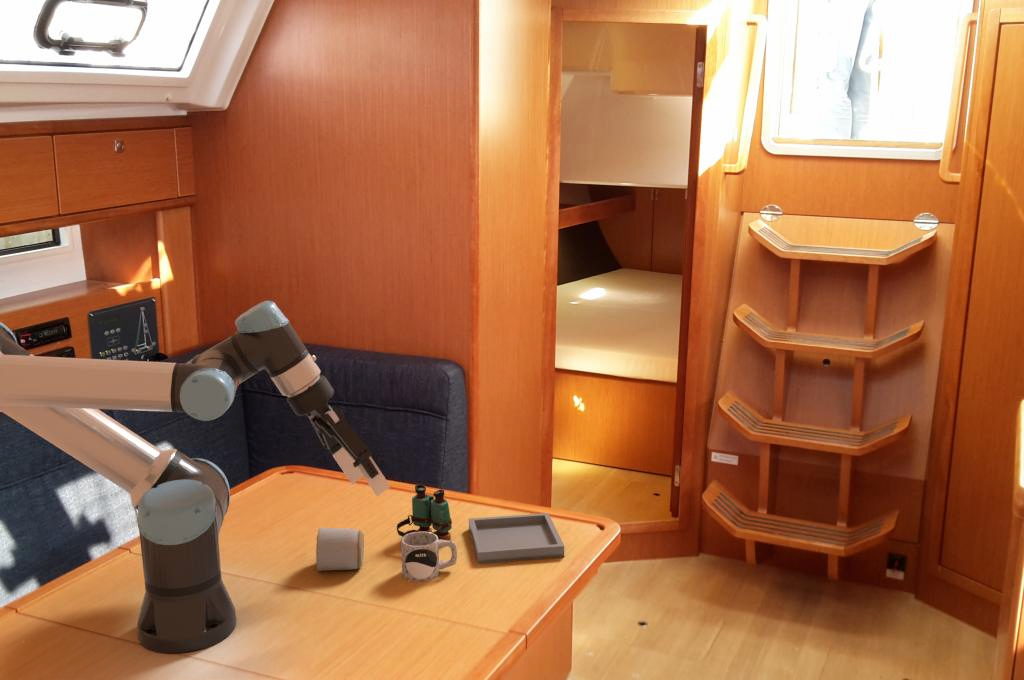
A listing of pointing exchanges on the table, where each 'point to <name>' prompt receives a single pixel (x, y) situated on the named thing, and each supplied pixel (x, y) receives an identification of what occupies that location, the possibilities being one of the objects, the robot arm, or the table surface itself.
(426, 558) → the mug
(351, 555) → the ceramic mug
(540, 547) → the tray
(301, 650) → the table surface
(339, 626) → the table surface
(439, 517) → the binoculars
